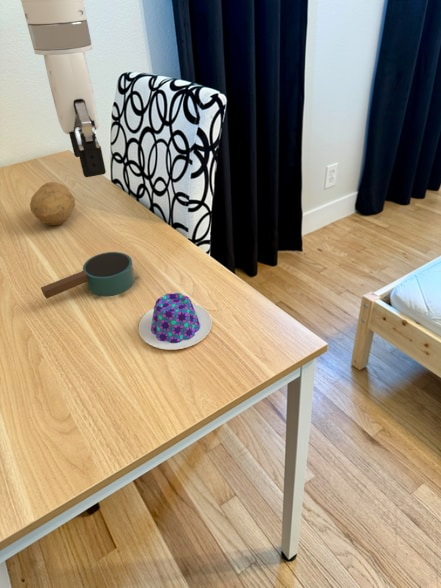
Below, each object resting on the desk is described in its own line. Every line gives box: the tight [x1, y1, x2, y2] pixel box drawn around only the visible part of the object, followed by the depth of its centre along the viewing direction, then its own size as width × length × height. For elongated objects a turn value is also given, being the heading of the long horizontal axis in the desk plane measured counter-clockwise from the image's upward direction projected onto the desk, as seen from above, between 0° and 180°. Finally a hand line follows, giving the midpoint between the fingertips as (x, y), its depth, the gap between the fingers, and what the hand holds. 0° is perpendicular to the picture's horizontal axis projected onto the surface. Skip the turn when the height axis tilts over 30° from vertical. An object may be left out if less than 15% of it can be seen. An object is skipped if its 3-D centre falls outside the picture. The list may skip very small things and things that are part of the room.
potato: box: [29, 181, 76, 226], centre depth 101 cm, size 10×14×8 cm
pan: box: [40, 251, 136, 299], centre depth 79 cm, size 17×9×4 cm, turn 129°
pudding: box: [138, 292, 213, 351], centre depth 69 cm, size 12×12×5 cm
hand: (89, 164), depth 67 cm, fingers open, 9 cm apart
